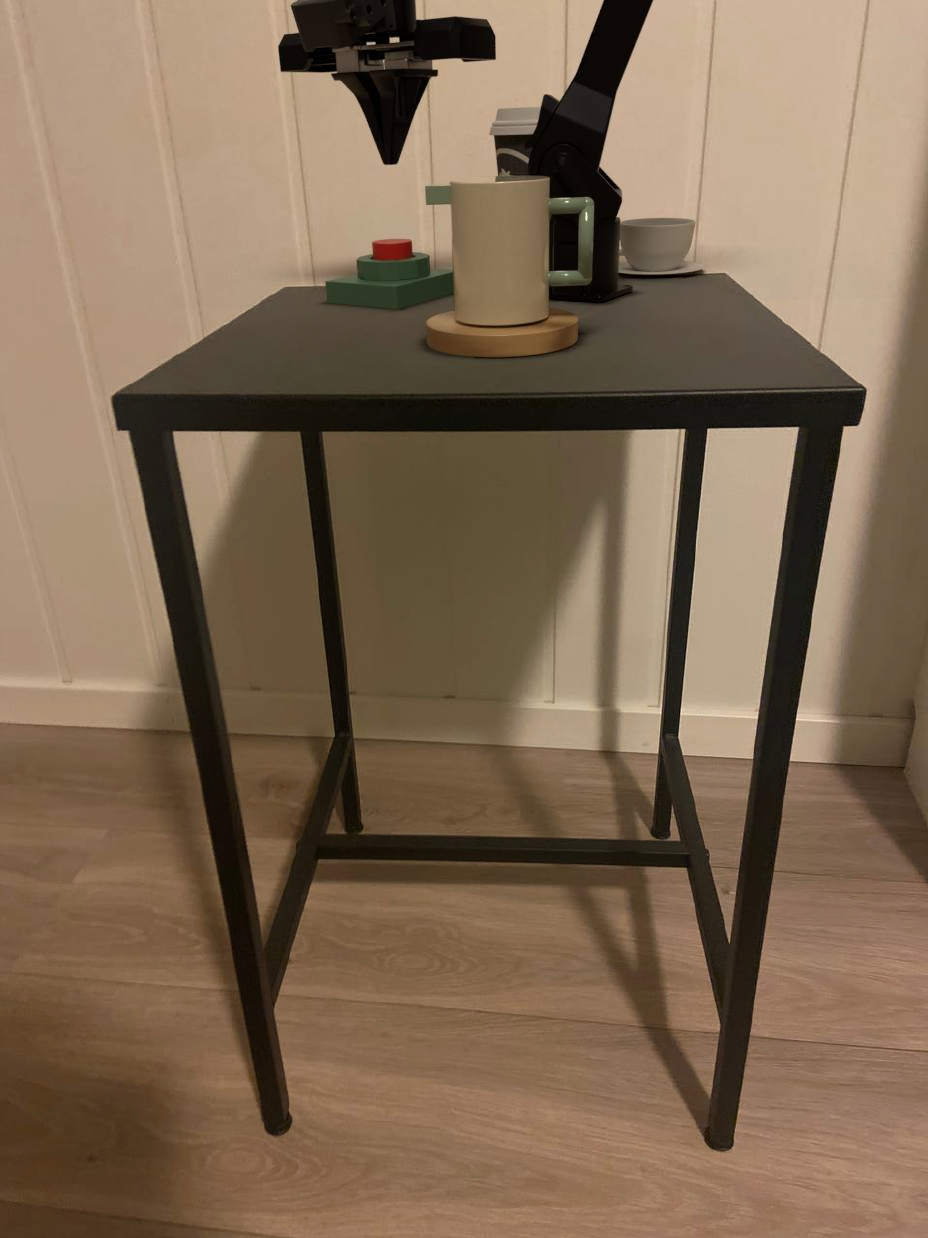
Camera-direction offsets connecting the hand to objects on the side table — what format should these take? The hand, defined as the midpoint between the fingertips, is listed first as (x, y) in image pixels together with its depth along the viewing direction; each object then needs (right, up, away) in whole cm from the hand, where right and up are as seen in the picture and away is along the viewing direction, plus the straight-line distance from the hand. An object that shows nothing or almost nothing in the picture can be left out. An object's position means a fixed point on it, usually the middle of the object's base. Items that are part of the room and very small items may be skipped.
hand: (390, 164), depth 81 cm
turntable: (+9, -19, -12) cm, 24 cm away
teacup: (+26, -4, +14) cm, 29 cm away
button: (0, -7, +4) cm, 8 cm away
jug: (+9, -17, -13) cm, 24 cm away
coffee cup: (+14, -6, +11) cm, 19 cm away
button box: (0, -9, +6) cm, 11 cm away
